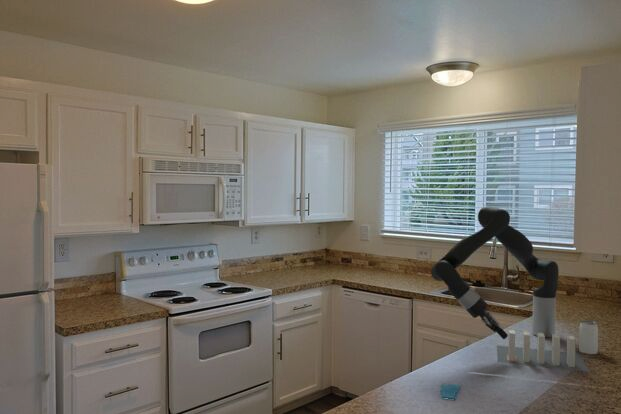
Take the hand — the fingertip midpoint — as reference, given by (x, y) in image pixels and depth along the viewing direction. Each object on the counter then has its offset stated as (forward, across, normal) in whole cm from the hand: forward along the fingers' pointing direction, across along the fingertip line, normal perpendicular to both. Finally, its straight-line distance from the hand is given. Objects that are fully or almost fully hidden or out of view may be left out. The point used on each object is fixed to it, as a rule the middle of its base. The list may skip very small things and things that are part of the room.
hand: (505, 337), depth 195 cm
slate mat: (+14, +5, -3) cm, 16 cm away
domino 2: (+11, 0, 0) cm, 11 cm away
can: (+28, +20, -16) cm, 38 cm away
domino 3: (+14, 0, -3) cm, 14 cm away
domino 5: (+21, 0, -10) cm, 23 cm away
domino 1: (+7, 0, +4) cm, 8 cm away
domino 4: (+18, 0, -7) cm, 19 cm away
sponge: (-6, -41, +19) cm, 46 cm away
